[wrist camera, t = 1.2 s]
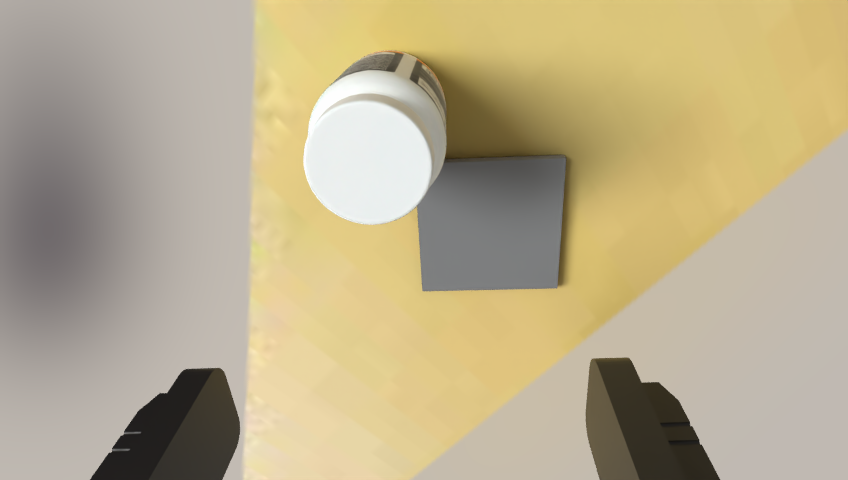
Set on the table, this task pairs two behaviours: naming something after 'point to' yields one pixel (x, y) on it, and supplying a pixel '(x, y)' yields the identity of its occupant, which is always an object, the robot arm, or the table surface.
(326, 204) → the pill bottle
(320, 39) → the table surface
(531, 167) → the coaster
